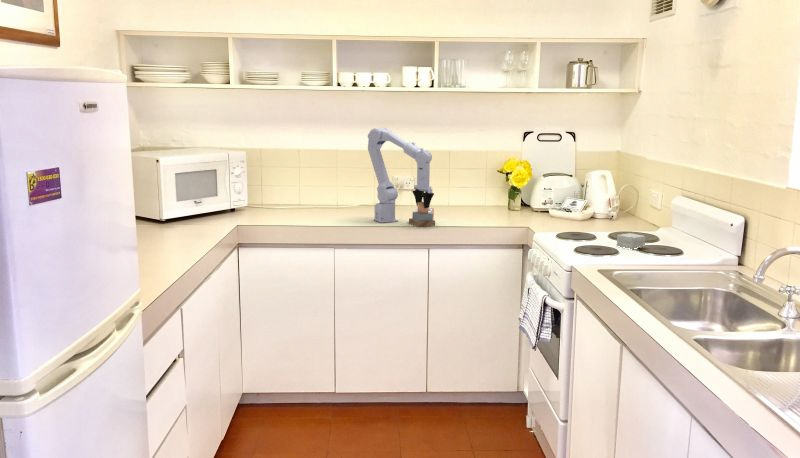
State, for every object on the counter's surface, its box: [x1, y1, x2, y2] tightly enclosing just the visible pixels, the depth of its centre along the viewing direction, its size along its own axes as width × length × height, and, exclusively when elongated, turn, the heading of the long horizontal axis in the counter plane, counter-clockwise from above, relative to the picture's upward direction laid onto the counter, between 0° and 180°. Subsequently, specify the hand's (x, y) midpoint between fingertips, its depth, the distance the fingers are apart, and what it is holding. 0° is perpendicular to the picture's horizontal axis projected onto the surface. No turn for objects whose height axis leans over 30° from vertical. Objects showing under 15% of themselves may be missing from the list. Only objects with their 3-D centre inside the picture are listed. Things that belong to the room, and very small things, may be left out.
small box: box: [616, 232, 646, 249], centre depth 270 cm, size 8×8×5 cm
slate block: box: [412, 211, 434, 221], centre depth 313 cm, size 7×7×3 cm
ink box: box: [411, 207, 435, 218], centre depth 327 cm, size 8×5×12 cm
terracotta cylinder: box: [416, 201, 428, 214], centre depth 313 cm, size 5×5×5 cm
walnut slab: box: [408, 218, 436, 228], centre depth 314 cm, size 9×9×3 cm
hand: (422, 206), depth 312 cm, fingers open, 7 cm apart
